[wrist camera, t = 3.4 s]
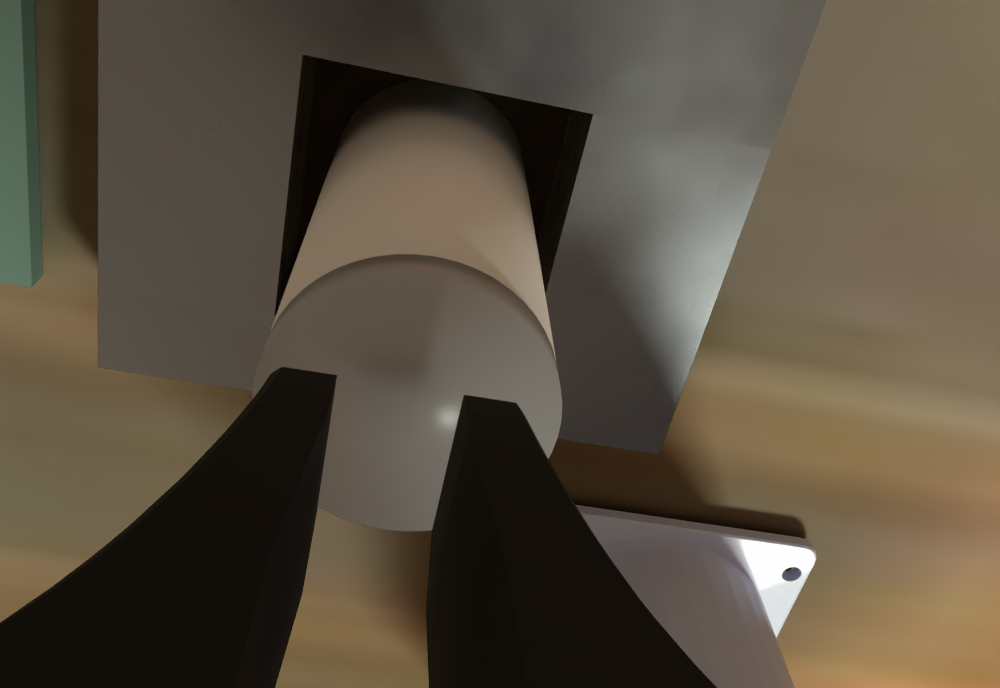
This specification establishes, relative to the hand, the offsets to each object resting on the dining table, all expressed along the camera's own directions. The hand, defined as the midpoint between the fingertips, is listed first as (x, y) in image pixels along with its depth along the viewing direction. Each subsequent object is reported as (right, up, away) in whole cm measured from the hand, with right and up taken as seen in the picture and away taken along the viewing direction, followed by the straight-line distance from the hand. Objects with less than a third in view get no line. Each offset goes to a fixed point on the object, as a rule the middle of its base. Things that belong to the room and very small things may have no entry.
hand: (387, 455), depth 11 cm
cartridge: (0, +5, +9) cm, 10 cm away
